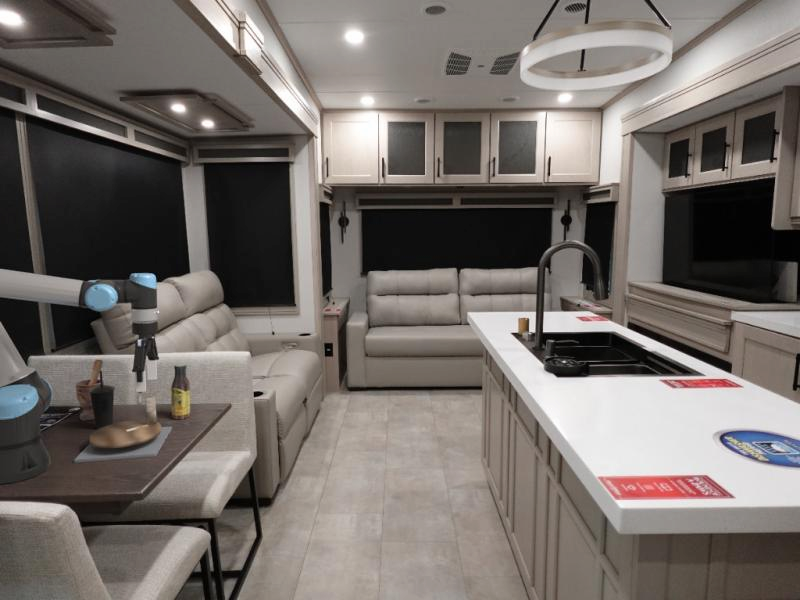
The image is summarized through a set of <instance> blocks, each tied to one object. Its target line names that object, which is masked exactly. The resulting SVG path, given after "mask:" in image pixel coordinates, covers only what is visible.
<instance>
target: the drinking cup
mask: <svg viewBox="0 0 800 600" xmlns="http://www.w3.org/2000/svg"><path fill="white" fill-rule="evenodd" d="M99 380H100V384H101V385H99V386H96V387H94V388H92V389H90V390H89V393H90V395H91V401H92V407H93V412H94V418H95V419H94V422H95V428H96V429H95V430H98V429H100V428H102V427H104V426H107V425H110V424H114V422H113V419H114V396H115V388H116V387H115V386H113V385H109V384H104V385H103V381H104V380H103V371H102V370H101V371H100V373H99Z"/></svg>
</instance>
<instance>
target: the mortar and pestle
mask: <svg viewBox="0 0 800 600" xmlns="http://www.w3.org/2000/svg"><path fill="white" fill-rule="evenodd" d="M103 365H104V361H103V359H95V360H94V362H93V366H92V373H91V378H90V379H85V380H81V381H78V382H76V383H75V390H76V391H75V392H76V399H77V401H78V404H79V405H80V406H81V407H82V408H83V410H82V412H81V413H80V414H79V419H80V420H81V421H83V422H84V421H91V420H95V418H94V412H93V407H92V401H91V395H90V393H89V390H90V389H92V388H94V387H96V386H99V385H101V384H100V378H99V377H100V371H102V368H103ZM103 385H105V382H104V380H103Z"/></svg>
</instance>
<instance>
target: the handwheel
mask: <svg viewBox="0 0 800 600" xmlns="http://www.w3.org/2000/svg"><path fill="white" fill-rule="evenodd" d="M144 400H145V401H144V402H145V403H144V405H145V417H146V419H133V420H132V419H131V420H124V421H119V422H115V423H114V422H113V424H110V425H107V426H104V427H102V428H100V429H95V430H94V431H92V433H91V434H89V444H91V445H93V446H95V447H99V448H121V447H128V446H133V445H137V444H140V443H143V442H146V441H149V440H151V439H153V438H155V437H156V436H158V435H159V434H160V433H161V427H162V424H161V423H160V422H158V421H157V420H158V419H157V405H156V404H157V403H156V396H154V395H149V396H147V397H145V398H144Z"/></svg>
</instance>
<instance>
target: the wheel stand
mask: <svg viewBox="0 0 800 600" xmlns="http://www.w3.org/2000/svg"><path fill="white" fill-rule="evenodd" d="M172 429H173V426H161V433H160V434H159V435H158V436H156V437H155V438H153V439H151V440H149V441H146V442H143V443H140V444H137V445H133V446H128V447H121V448H99V447H95V446H93V445H91V444H90V443H89V444H88V445H87V446H85V448H84V449H83V450H82V451H81V452H80V453H79V454H78V455H77V456H76V458H74V460H73V463H74V464H75V463H86V462H97V461H98V462H101V461H109V460H110V461H111V460H112V461H113V460H123V459H124V460H125V459H135V458H136V459H137V458H148V457H150V458H151V457H157V454H158V453H159V451H160V449H161V448H162V446H163V444H164V443H165V442H166V440H165V439H167V438H168V436H169V435H168V434H170V433H171V431H172Z"/></svg>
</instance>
